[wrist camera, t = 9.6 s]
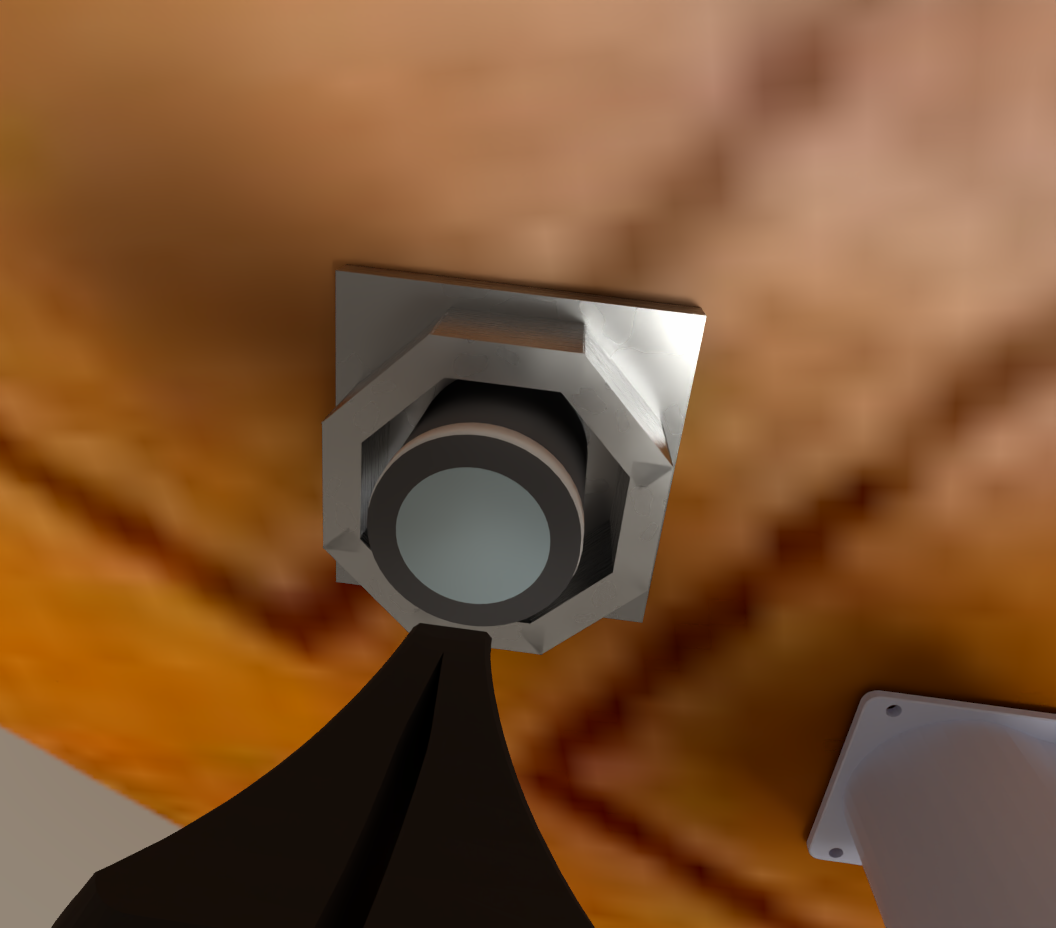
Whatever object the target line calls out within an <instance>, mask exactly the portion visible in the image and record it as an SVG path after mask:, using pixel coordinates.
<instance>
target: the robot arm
mask: <svg viewBox="0 0 1056 928" xmlns="http://www.w3.org/2000/svg"><path fill="white" fill-rule="evenodd" d="M491 643H492V637H491V636H490V635H489V634H488V633H487V632H485V631H477V630H470V629H463V628H455V627H448V626H440V625H433V624H426V623H419V624H417V625H416V626H414V627H413V628H412V630H411V631H410V633H409V634H408V635H407V637H406V638H405V639H404V641H403V642H402V643H401V645H400V646H399V647H398V648H397V650H396V651H395V652H394V653H393V655H392V656H391V657H390V658H389V659H388V661H387V662H386V663H385V664H384V665H383V666H382V668H381V669H380V670H379V671H378V672H377V673H376V674H375V675H374V676H373V678H372V679H371V680H370V681H369V682H368V683H367V684H366V685H365V686H364V687H363V688H362V690H361V691H360V692H359V693H358V694H357V695H356V696H355V697H354V698H353V699H352V700H351V701H350V702H349V703H348V704H347V705H346V706H345V707H344V708H343V709H342V710H341V711H340V712H339V713H338V714H337V715H336V716H334V717H333V718H332V719H331V720H330V721H329V722H328V723H327V724H326V725H325V726H324V727H323V728H322V729H321V730H320V731H319V732H317V733H316V734H315V735H314V736H313V737H312V738H311V739H309V740H308V741H307V742H306V743H305V744H304V745H302V746H301V747H300V748H299V749H298V750H296V751H295V752H294V753H293V754H291V755H290V756H289V757H288V758H286V759H285V760H284V761H283V762H281V763H280V764H279V765H277V766H276V767H275V768H273V769H272V770H271V771H269V772H268V773H267V774H265V775H264V776H262V777H261V778H260V779H258V780H257V781H256V782H254V783H253V784H252V785H250V786H249V787H247V788H246V789H244V790H243V791H241V792H240V793H239V794H237V795H236V796H234V797H233V798H231V799H230V800H228V801H227V802H225V803H223V804H222V805H220V806H218V807H217V808H215V809H213V810H212V811H210V812H209V813H207V814H205V815H204V816H202V817H200V818H199V819H197V820H195V821H194V822H192V823H190V824H189V825H187V826H185V827H184V828H182V829H180V830H179V831H177V832H175V833H173V834H172V835H170V836H168V837H166V838H164V839H162V840H161V841H159V842H157V843H155V844H153V845H151V846H149V847H146V848H144V849H142V850H141V851H138V852H136V853H135V854H133V855H130V856H128V857H126V858H124V859H123V860H120V861H118V862H116V863H114V864H112V865H110V866H108V867H106V868H104V869H102V870H99V871H97V872H95V873H94V875H93V876H92V877H91V878H90V879H89V881H88V882H87V883H86V884H85V886H84V887H83V888H82V889H81V891H80V892H79V893H78V894H77V895H76V896H75V897H74V899H73V900H72V901H71V902H70V903H69V905H68V906H67V907H66V908H65V910H64V911H63V912H62V914H61V915H60V916H59V918H58V919H57V920H56V921H55V923H54V924H53V926H52V928H595V927H594V926H593V924H592V923H591V921H590V920H589V918H588V916H587V915H586V913H585V912H584V910H583V909H582V907H581V906H580V904H579V902H578V901H577V899H576V897H575V896H574V894H573V892H572V891H571V889H570V887H569V886H568V884H567V882H566V880H565V879H564V877H563V875H562V874H561V872H560V870H559V868H558V866H557V864H556V862H555V860H554V858H553V856H552V854H551V852H550V850H549V848H548V846H547V844H546V843H545V841H544V839H543V837H542V835H541V833H540V831H539V829H538V827H537V825H536V822H535V820H534V818H533V815H532V813H531V811H530V808H529V806H528V804H527V801H526V799H525V796H524V794H523V791H522V789H521V786H520V784H519V781H518V778H517V775H516V773H515V770H514V767H513V764H512V761H511V758H510V754H509V751H508V748H507V744H506V741H505V738H504V734H503V730H502V726H501V722H500V718H499V713H498V709H497V704H496V699H495V694H494V688H493V682H492V673H491V661H490V652H491ZM891 705H896V706H895V707H893V708H890V709H887V708H888V707H889V706H891ZM807 847H808V851H809V853H810V855H811V856H813V857H814V858H817V859H822V860H829V861H836V862H843V863H850V864H857V865H863V868H864V870H865V873H866V876H867V878H868V881H869V884H870V886H871V889H872V892H873V894H874V897H875V900H876V902H877V905H878V908H879V911H880V913H881V916H882V919H883V921H884V924H885V927H886V928H1056V714H1052V713H1044V712H1037V711H1029V710H1022V709H1015V708H1007V707H1000V706H992V705H985V704H977V703H970V702H962V701H955V700H948V699H940V698H933V697H925V696H918V695H910V694H903V693H895V692H888V691H881V690H874V691H871V692H868V693H866V694H865V695H864V696H863V697H862V699H861V700H860V703H859V706H858V708H857V711H856V714H855V716H854V719H853V722H852V724H851V727H850V729H849V732H848V735H847V737H846V740H845V743H844V745H843V748H842V750H841V753H840V756H839V758H838V761H837V764H836V766H835V769H834V772H833V774H832V777H831V779H830V782H829V785H828V787H827V790H826V793H825V795H824V798H823V800H822V803H821V806H820V808H819V811H818V814H817V816H816V819H815V821H814V824H813V827H812V829H811V832H810V835H809V837H808V840H807Z"/></svg>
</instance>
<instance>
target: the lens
mask: <svg viewBox="0 0 1056 928" xmlns="http://www.w3.org/2000/svg"><path fill="white" fill-rule="evenodd" d="M587 458H588V448H587V440H586V435H585V431H584V428H583V425H582V423H581V421H580V419H579V417H578V415H577V413H576V411H575V410H574V409H573V407H572V406H571V404H570V403H569V402H568V401H567V400H566V399H565V398H564V396H563V395H561V394H560V393H559V392H557V391H549V390H541V389H533V388H525V387H517V386H509V385H501V384H493V383H485V382H477V381H469V380H461V379H457V380H455V381H454V382H452V383H451V384H449V385H448V386H446V387H445V388H444V389H443V390H442V391H441V392H439V393H438V395H437V396H436V397H435V398H434V399H433V400H432V402H431V403H430V405H429V406H428V408H427V409H426V411H425V412H424V414H423V415H422V417H421V418H420V420H419V421H418V423H417V425H416V426H415V428H414V429H413V431H412V432H411V434H410V435H409V437H408V438H407V440H406V441H405V443H404V444H403V446H402V447H401V449H400V450H399V451H398V452H397V453H396V454H395V455H394V457H393V458H392V459H391V460H390V462H389V463H388V465H387V466H386V468H385V469H384V471H383V472H382V474H381V475H380V477H379V479H378V480H377V482H376V484H375V487H374V489H373V491H372V494H371V498H370V502H369V507H368V516H367V532H368V539H369V544H370V548H371V550H372V553H373V556H374V559H375V561H376V563H377V565H378V567H379V569H380V570H381V572H382V573H383V575H384V576H385V578H386V579H387V581H388V582H389V583H390V584H391V585H392V586H393V588H394V589H395V590H396V591H397V592H398V593H400V594H401V595H402V596H403V597H404V598H405V599H406V600H408V601H409V602H410V603H412V604H413V605H414V606H416V607H418V608H419V609H421V610H423V611H425V612H426V613H428V614H431V615H433V616H435V617H437V618H440V619H443V620H446V621H449V622H452V623H457V624H462V625H469V626H499V625H505V624H510V623H514V622H518V621H520V620H523V619H526V618H528V617H530V616H532V615H534V614H536V613H538V612H540V611H541V610H543V609H544V608H546V607H547V606H549V605H550V604H551V603H552V602H553V601H554V600H555V599H557V598H558V597H559V595H560V594H561V593H562V592H563V591H564V589H565V588H566V587H567V585H568V584H569V582H570V580H571V579H572V577H573V575H574V574H575V571H576V569H577V567H578V564H579V562H580V558H581V554H582V549H583V538H584V511H583V510H584V497H585V484H586V471H587Z"/></svg>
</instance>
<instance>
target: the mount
mask: <svg viewBox="0 0 1056 928" xmlns="http://www.w3.org/2000/svg"><path fill="white" fill-rule="evenodd" d="M705 320H706V315H705V313H704V311H703V310H702V308H698V307H690V306H682V305H674V304H666V303H658V302H649V301H641V300H633V299H625V298H617V297H609V296H601V295H592V294H584V293H576V292H568V291H560V290H552V289H544V288H536V287H527V286H519V285H511V284H503V283H495V282H487V281H479V280H470V279H462V278H454V277H446V276H438V275H430V274H422V273H413V272H405V271H397V270H389V269H381V268H373V267H365V266H356V265H348V264H346V265H344V266H343V267H341V268H339V269H337V270H336V407H335V408H334V409H333V410H332V411H331V412H330V414H329V415H328V416H327V417H326V418H325V419H324V420H323V421H322V463H323V549H325V550H326V551H327V552H328V553H329V554H330V555H331V556H332V557H333V558H334V559H335V560H336V582H341V583H349V584H356V585H361V586H362V587H363V588H364V589H365V590H366V591H367V592H368V593H369V594H370V595H371V596H372V597H373V598H374V599H375V600H376V601H378V602H379V603H380V604H381V605H382V606H383V607H384V608H385V609H386V610H387V611H388V612H389V613H390V614H391V615H392V616H393V617H394V618H395V619H396V620H397V621H398V622H399V623H400V624H401V625H402V626H403V627H404V628H405V629H406V630H407V631H408V632H409V633H410V631H411V630H412V628H413V627H414V626H416V625H417V624H419V623H426V624H433V625H440V626H448V627H455V628H463V629H470V630H477V631H485V632H487V633H488V634H489V635H490V636H491V637H492V643H491V648H496V649H504V650H511V651H519V652H526V653H534V654H540V655H542V654H543V653H544V652H546V651H548V650H549V649H551V648H553V647H554V646H556V645H558V644H559V643H561V642H563V641H564V640H566V639H568V638H569V637H571V636H573V635H574V634H576V633H578V632H579V631H581V630H583V629H584V628H586V627H588V626H589V625H591V624H593V623H594V622H596V621H598V620H599V619H601V618H603V617H604V618H612V619H619V620H627V621H634V622H643V617H644V612H645V607H646V602H647V598H648V593H649V588H650V583H651V579H652V574H653V569H654V564H655V559H656V555H657V550H658V545H659V540H660V536H661V531H662V526H663V521H664V516H665V512H666V507H667V502H668V497H669V493H670V488H671V483H672V478H673V473H674V469H675V464H676V459H677V454H678V450H679V445H680V440H681V435H682V430H683V426H684V421H685V416H686V411H687V407H688V402H689V397H690V392H691V387H692V383H693V378H694V373H695V368H696V363H697V359H698V354H699V349H700V344H701V340H702V335H703V330H704V325H705ZM457 379H461V380H469V381H477V382H485V383H493V384H501V385H509V386H517V387H525V388H533V389H541V390H549V391H557V392H559V393H560V394H561V395H563V396H564V398H565V399H566V400H567V401H568V402H569V403H570V404H571V406H572V407H573V409H574V410H575V411H576V413H577V415H578V417H579V419H580V421H581V423H582V425H583V428H584V431H585V435H586V440H587V448H588V458H587V471H586V484H585V497H584V510H583V511H584V538H583V549H582V554H581V558H580V562H579V564H578V567H577V569H576V571H575V574H574V575H573V577H572V579H571V580H570V582H569V584H568V585H567V587H566V588H565V589H564V591H563V592H562V593H561V594H560V595H559V597H558V598H557V599H555V600H554V601H553V602H552V603H551V604H550V605H549V606H547V607H546V608H544V609H543V610H541V611H540V612H538V613H536V614H534V615H532V616H530V617H528V618H526V619H523V620H520V621H518V622H514V623H510V624H505V625H499V626H469V625H462V624H457V623H452V622H449V621H446V620H443V619H440V618H437V617H435V616H433V615H431V614H428V613H426V612H425V611H423V610H421V609H419V608H418V607H416V606H414V605H413V604H412V603H410V602H409V601H408V600H406V599H405V598H404V597H403V596H402V595H401V594H400V593H398V592H397V591H396V590H395V589H394V588H393V586H392V585H391V584H390V583H389V582H388V581H387V579H386V578H385V576H384V575H383V573H382V572H381V570H380V569H379V567H378V565H377V563H376V561H375V559H374V556H373V553H372V550H371V548H370V544H369V539H368V532H367V516H368V507H369V502H370V498H371V494H372V491H373V489H374V487H375V484H376V482H377V480H378V479H379V477H380V475H381V474H382V472H383V471H384V469H385V468H386V466H387V465H388V463H389V462H390V460H391V459H392V458H393V457H394V455H395V454H396V453H397V452H398V451H399V450H400V449H401V447H402V446H403V444H404V443H405V441H406V440H407V438H408V437H409V435H410V434H411V432H412V431H413V429H414V428H415V426H416V425H417V423H418V421H419V420H420V418H421V417H422V415H423V414H424V412H425V411H426V409H427V408H428V406H429V405H430V403H431V402H432V400H433V399H434V398H435V397H436V396H437V395H438V393H439V392H441V391H442V390H443V389H444V388H445V387H446V386H448V385H449V384H451V383H452V382H454V381H455V380H457Z"/></svg>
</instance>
